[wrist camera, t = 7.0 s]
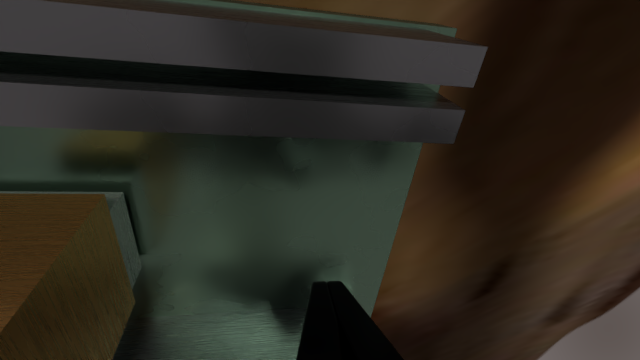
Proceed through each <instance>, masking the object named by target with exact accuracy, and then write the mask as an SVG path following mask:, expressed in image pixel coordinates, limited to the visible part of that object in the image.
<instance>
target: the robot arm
mask: <svg viewBox="0 0 640 360" xmlns="http://www.w3.org/2000/svg"><path fill="white" fill-rule="evenodd" d="M296 360H404V359H403V358H402V357H401V355H400V354H399V353H398V352H397V350H396V349H395V348H394V347H393V345H392V344H391V343H390V342H389V340H388V339H387V338H386V337H385V335H384V334H383V333H382V331H381V330H380V329H379V328H378V326H377V325H376V324H375V323H374V321H373V320H372V319H371V318H370V316H369V315H368V314H367V313H366V311H365V310H364V309H363V308H362V306H361V305H360V304H359V302H358V301H357V300H356V299H355V297H354V296H353V295H352V294H351V292H350V291H349V290H348V289H347V287H346V286H345V285H344V284H343V282H341V281H328V282H325V281H314V282H313V283H312V286H311V291H310V296H309V301H308V305H307V310H306V315H305V319H304V324H303V329H302V333H301V338H300V343H299V348H298V352H297V357H296Z"/></svg>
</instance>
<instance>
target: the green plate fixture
mask: <svg viewBox="0 0 640 360" xmlns="http://www.w3.org/2000/svg"><path fill="white" fill-rule="evenodd" d="M456 31H457V28H452V27H448V26H444V25H439V24H432V23H424V22H415V21H407V20H398V19H389V18H381V17H372V16H363V15H355V14H346V13H337V12H329V11H320V10H311V9H303V8H294V7H285V6H277V5H268V4H259V3H251V2H242V1H234V0H0V191H29V192H123V194H124V198H125V202H126V206H127V210H128V214H129V218H130V222H131V226H132V230H133V234H134V238H135V242H136V246H137V250H138V254H139V258H140V262H141V266H142V268H141V270H140V272H139V275H138V277H137V279H136V282H135V284H134V286H133V289H132V292H133V295H134V299H135V304H134V307H133V309H132V312H131V314H130V317H129V319H128V322H127V324H126V326H125V329H124V331H123V334H122V336H121V339H120V341H119V344H118V346H117V349H116V351H115V354H114V356H113V359H112V360H296V357H297V352H298V348H299V343H300V338H301V333H302V329H303V324H304V319H305V315H306V310H307V305H308V301H309V296H310V291H311V286H312V283H313V282H314V281H325V282H328V281H341V282H343V284H344V285H345V286H346V287H347V289H348V290H349V291H350V292H351V294H352V295H353V296H354V297H355V299H356V300H357V301H358V302H359V304H360V305H361V306H362V308H363V309H364V310H365V311H366V313H367V314H368V315H369V316H370V318H371V314H372V311H373V308H374V304H375V301H376V298H377V294H378V291H379V288H380V284H381V281H382V278H383V274H384V271H385V268H386V264H387V261H388V258H389V254H390V251H391V248H392V244H393V241H394V238H395V234H396V231H397V228H398V224H399V221H400V218H401V214H402V211H403V208H404V204H405V201H406V198H407V194H408V191H409V188H410V184H411V181H412V178H413V174H414V171H415V167H416V164H417V161H418V157H419V154H420V151H421V147H422V144H423V143H445V144H454V141H455V138H456V136H457V133H458V130H459V127H460V124H461V122H462V119H463V116H464V113H465V110H464V109H462V108H461V107H459V106H457V105H456V104H454V103H453V102H451V101H449V100H448V99H446V98H445V97H443V96H441V95H440V94H438V91H439V87H440V85H447V86H460V87H473V88H474V85H475V82H476V79H477V76H478V74H479V71H480V68H481V65H482V62H483V59H484V57H485V54H486V51H487V48H488V47H486V46H482V45H479V44H475V43H472V42H468V41H465V40H461V39H458V38H454V37H455V34H456Z"/></svg>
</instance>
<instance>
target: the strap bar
mask: <svg viewBox="0 0 640 360" xmlns="http://www.w3.org/2000/svg"><path fill="white" fill-rule="evenodd" d="M141 268H142V266H141V262H140V258H139V254H138V250H137V246H136V242H135V238H134V234H133V230H132V226H131V222H130V218H129V214H128V210H127V206H126V202H125V198H124V194H123V192H29V191H0V360H112V359H113V356H114V354H115V351H116V349H117V346H118V344H119V341H120V339H121V336H122V334H123V331H124V329H125V326H126V324H127V322H128V319H129V317H130V314H131V312H132V309H133V307H134V304H135V299H134V295H133V292H132V289H133V286H134V284H135V282H136V279H137V277H138V275H139V272H140V270H141Z"/></svg>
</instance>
